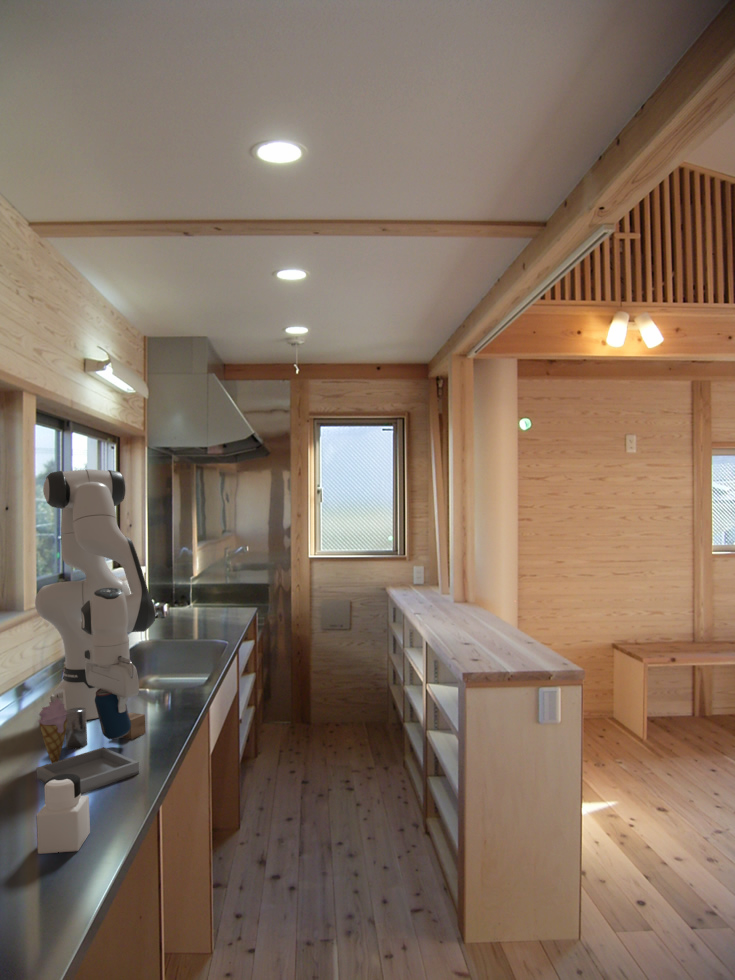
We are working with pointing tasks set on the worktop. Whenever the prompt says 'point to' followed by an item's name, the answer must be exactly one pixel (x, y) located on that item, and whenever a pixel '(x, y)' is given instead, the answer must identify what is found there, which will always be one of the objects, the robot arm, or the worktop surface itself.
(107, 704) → the soda can
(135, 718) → the walnut block
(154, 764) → the worktop surface
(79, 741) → the dark metal canister
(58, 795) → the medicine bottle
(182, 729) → the worktop surface
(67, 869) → the worktop surface
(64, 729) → the ice cream cone
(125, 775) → the slate tray
